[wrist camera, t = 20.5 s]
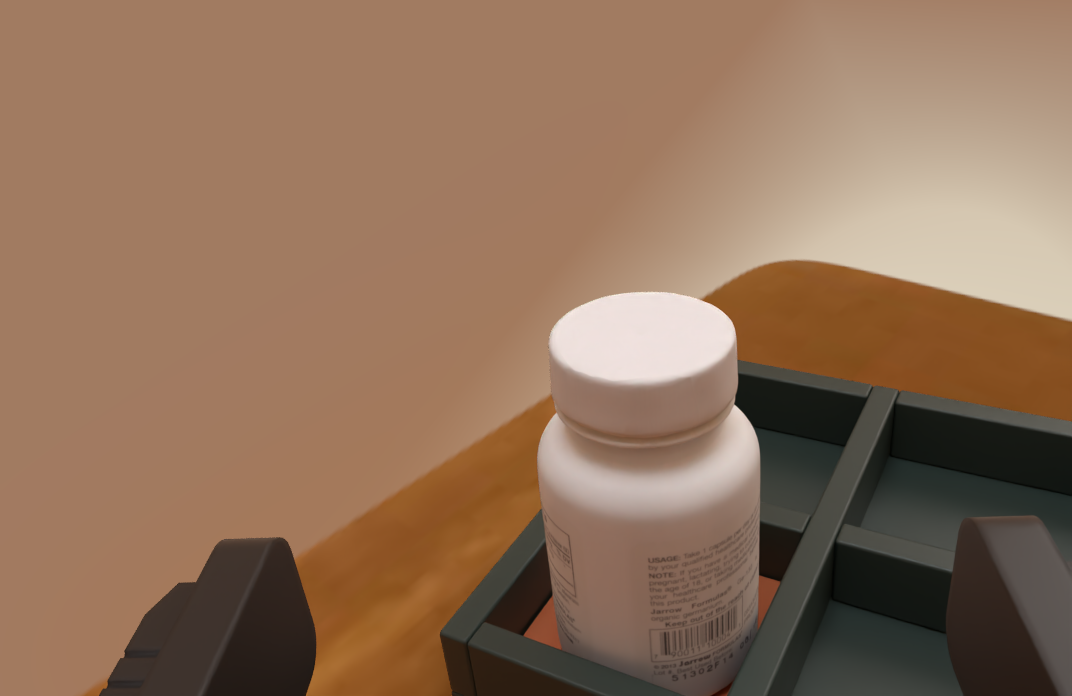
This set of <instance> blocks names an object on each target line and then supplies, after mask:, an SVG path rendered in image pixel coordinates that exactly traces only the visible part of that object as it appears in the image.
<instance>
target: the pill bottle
mask: <svg viewBox="0 0 1072 696" xmlns="http://www.w3.org/2000/svg"><path fill="white" fill-rule="evenodd" d="M548 348H549V362H550V379H551V393H552V398H553V400H554V405H555V409H556V412H557V413H556V414H555V415H554V417H553V418H552V419H551V420H550V422H549V423H548V425H547V427H546V428H545V430H544V432H543V434H542V437H541V440H540V443H539V448H538V455H537V467H538V479H539V490H540V498H541V505H542V514H543V521H544V529H545V537H546V546H547V553H548V561H549V568H550V576H551V584H552V592H553V600H554V608H555V615H556V622H557V629H558V636H559V640H560V644H561V647H562V650H563V651H565V652H568V653H571V654H573V655H576V656H579V657H581V658H584V659H587V660H590V661H592V662H595V663H598V664H600V665H603V666H606V667H609V668H611V669H614V670H617V671H619V672H622V673H625V674H627V675H630V676H633V677H636V678H638V679H641V680H644V681H646V682H649V683H652V684H655V685H657V686H660V687H663V688H665V689H668V690H671V691H673V692H676V693H679V694H682V695H684V696H711V695H713V694H715V693H716V692H718V691H720V690H721V689H723V688H725V687H726V686H728V685H729V684H730V683H731V682H732V681H733V680H734V679H735V677H736V675H737V673H738V671H739V669H740V667H741V665H742V662H743V660H744V658H745V656H746V654H747V652H748V650H749V648H750V646H751V644H752V641H753V639H754V637H755V635H756V633H757V630H758V586H759V524H760V449H759V443H758V439H757V436H756V433H755V431H754V429H753V427H752V425H751V423H750V421H749V420H748V419H747V417H746V416H745V415H744V413H743V412H742V411H741V410H740V409H739V408H738V407H737V406H735V405H734V402H735V394H736V392H737V387H738V368H737V339H736V333H735V329H734V326H733V323H732V321H731V320H730V319H729V318H728V317H727V316H726V315H725V314H724V313H723V312H722V311H721V310H719V309H718V308H716V307H715V306H713V305H711V304H709V303H706V302H704V301H701V300H699V299H696V298H692V297H689V296H686V295H679V294H673V293H669V292H667V293H666V292H634V293H622V294H617V295H611V296H606V297H602V298H599V299H596V300H594V301H590V302H588V303H586V304H584V305H582V306H579V307H577V308H575V309H573V310H571V311H570V312H568V313H567V314H566V315H564V316H563V317H562V318H561V319H560V320H559V321H558V322H557V323H556V325H555V326H554V327H553V329H552V331H551V334H550V338H549V345H548Z"/></svg>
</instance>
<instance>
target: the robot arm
mask: <svg viewBox="0 0 1072 696" xmlns="http://www.w3.org/2000/svg"><path fill="white" fill-rule="evenodd" d="M946 635H947V644H948V649H949V654H950V659H951V663H952V666H953V669H954V672H955V675H956V677H957V680H958V682H959V685H960V688H961V690H962V693H963V696H1072V561H1065V559H1064V557H1063V556H1062V554H1061V552H1060V550H1059V549H1058V547H1057V545H1056V543H1055V542H1054V540H1053V538H1052V537H1051V535H1050V533H1049V531H1048V530H1047V528H1046V526H1045V525H1044V523H1043V522H1042V521H1041V520H1040V519H1039V518H1038V517H1036V516H1033V515H1030V516H999V517H968V518H965V519H963V521H962V522H961V525H960V528H959V532H958V539H957V545H956V552H955V558H954V565H953V572H952V578H951V585H950V591H949V598H948V604H947V612H946ZM315 658H316V633H315V627H314V623H313V619H312V616H311V613H310V609H309V606H308V603H307V600H306V596H305V593H304V590H303V587H302V583H301V580H300V577H299V574H298V570H297V567H296V564H295V561H294V558H293V554H292V551H291V548H290V546H289V544H288V542H287V541H286V540H285V539H283V538H280V537H279V538H248V539H224V540H222V541H220V542H219V543H218V544H217V545H216V546H215V548H214V550H213V551H212V553H211V555H210V557H209V559H208V561H207V563H206V564H205V566H204V568H203V570H202V572H201V574H200V576H199V578H198V580H197V582H193V583H178V584H177V585H176V586H175V587H174V588H173V589H172V590H171V591H170V592H169V593H168V594H167V595H166V596H164V597H163V598H162V599H161V600H160V601H159V602H158V603H157V604H156V605H155V606H154V607H153V608H152V609H151V610H150V611H149V612H148V613H147V614H145V616H144V617H143V619H142V621H141V623H140V625H139V626H138V628H137V630H136V632H135V633H134V635H133V637H132V639H131V640H130V642H129V644H128V646H127V648H126V649H125V657H124V658H120V660H119V661H118V663H117V665H116V667H115V669H114V670H113V672H112V674H111V675H110V677H109V679H108V686H107V688H106V689H103V690H102V691H101V693H100V695H99V696H306V693H307V690H308V687H309V684H310V681H311V678H312V675H313V670H314V665H315Z"/></svg>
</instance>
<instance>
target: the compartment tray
mask: <svg viewBox="0 0 1072 696" xmlns="http://www.w3.org/2000/svg"><path fill="white" fill-rule="evenodd" d="M737 368H738V387H737V392H736V394H735V402H734V405H735V406H737V407H738V408H739V409H740V410H741V411H742V412H743V413H744V415H745V416H746V417H747V419H748V420H749V421H750V423H751V425H752V427H753V429H754V431H755V433H756V436H757V439H758V443H759V449H760V524H759V586H758V630H757V633H756V635H755V637H754V639H753V641H752V644H751V646H750V648H749V650H748V652H747V654H746V656H745V658H744V660H743V662H742V665H741V667H740V669H739V671H738V673H737V675H736V677H735V679H734V680H733V681H732V682H731V683H730V684H729V685H728V686H726V687H725V688H723V689H721V690H720V691H718V692H716V693H715V694H713V695H711V696H963V693H962V690H961V688H960V685H959V682H958V680H957V677H956V675H955V672H954V669H953V666H952V663H951V659H950V654H949V649H948V644H947V635H946V612H947V604H948V598H949V591H950V585H951V578H952V572H953V565H954V558H955V552H956V545H957V539H958V532H959V528H960V525H961V522H962V521H963V519H965V518H968V517H999V516H1030V515H1033V516H1036V517H1038V518H1039V519H1040V520H1041V521H1042V522H1043V523H1044V525H1045V526H1046V528H1047V530H1048V531H1049V533H1050V535H1051V537H1052V538H1053V540H1054V542H1055V543H1056V545H1057V547H1058V549H1059V550H1060V552H1061V554H1062V556H1063V557H1064V559H1065V561H1072V422H1071V421H1066V420H1060V419H1055V418H1049V417H1044V416H1039V415H1033V414H1028V413H1022V412H1017V411H1011V410H1006V409H1001V408H995V407H990V406H984V405H979V404H974V403H968V402H963V401H957V400H952V399H946V398H941V397H936V396H930V395H925V394H919V393H914V392H909V391H900V393H899V390H897V389H892V388H886V387H881V386H874V387H872V385H870V384H865V383H860V382H854V381H849V380H844V379H838V378H833V377H827V376H822V375H816V374H811V373H806V372H800V371H795V370H789V369H784V368H779V367H773V366H768V365H762V364H757V363H752V362H746V361H741V360H737ZM440 638H441V643H442V647H443V652H444V657H445V661H446V666H447V671H448V675H449V680H450V685H451V689H452V690H453V691H452V696H684V695H682V694H679V693H676V692H673V691H671V690H668V689H665V688H663V687H660V686H657V685H655V684H652V683H649V682H646V681H644V680H641V679H638V678H636V677H633V676H630V675H627V674H625V673H622V672H619V671H617V670H614V669H611V668H609V667H606V666H603V665H600V664H598V663H595V662H592V661H590V660H587V659H584V658H581V657H579V656H576V655H573V654H571V653H568V652H565V651H563V650H562V647H561V644H560V640H559V636H558V629H557V622H556V615H555V608H554V600H553V592H552V584H551V576H550V568H549V561H548V553H547V546H546V537H545V529H544V521H543V514H542V509H541V510H540V511H539V512H538V514H537V515H536V516H535V517H534V518H533V520H532V521H531V522H530V523H529V524H528V526H527V527H526V528H525V529H524V531H523V532H522V533H521V534H520V535H519V537H518V538H517V539H516V540H515V541H514V543H513V544H512V545H511V546H510V548H509V549H508V550H507V551H506V552H505V554H504V555H503V556H502V557H501V558H500V560H499V561H498V562H497V563H496V565H495V566H494V567H493V568H492V569H491V571H490V572H489V573H488V574H487V575H486V577H485V578H484V579H483V580H482V582H481V583H480V584H479V585H478V586H477V588H476V589H475V590H474V591H473V592H472V594H471V595H470V596H469V597H468V599H467V600H466V601H465V602H464V603H463V605H462V606H461V607H460V608H459V609H458V611H457V612H456V613H455V614H454V616H453V617H452V618H451V619H450V620H449V622H448V623H447V624H446V625H445V626H444V628H443V629H442V630H441V632H440Z"/></svg>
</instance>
